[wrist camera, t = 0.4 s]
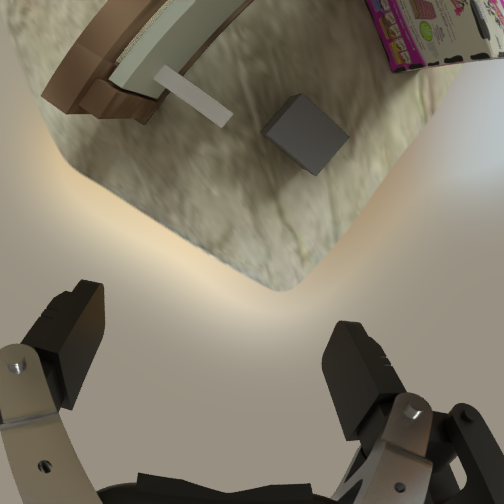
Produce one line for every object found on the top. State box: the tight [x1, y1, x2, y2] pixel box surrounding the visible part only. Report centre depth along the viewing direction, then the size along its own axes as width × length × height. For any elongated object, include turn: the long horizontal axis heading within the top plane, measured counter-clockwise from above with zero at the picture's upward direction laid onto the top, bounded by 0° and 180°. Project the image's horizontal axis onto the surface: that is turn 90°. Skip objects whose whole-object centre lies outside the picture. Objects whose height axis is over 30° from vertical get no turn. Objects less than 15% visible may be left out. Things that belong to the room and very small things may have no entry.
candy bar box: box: [365, 0, 504, 73], centre depth 20 cm, size 11×5×16 cm, turn 20°
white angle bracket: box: [109, 0, 246, 128], centre depth 22 cm, size 16×8×12 cm, turn 141°
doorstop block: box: [260, 94, 349, 176], centre depth 30 cm, size 5×6×5 cm
